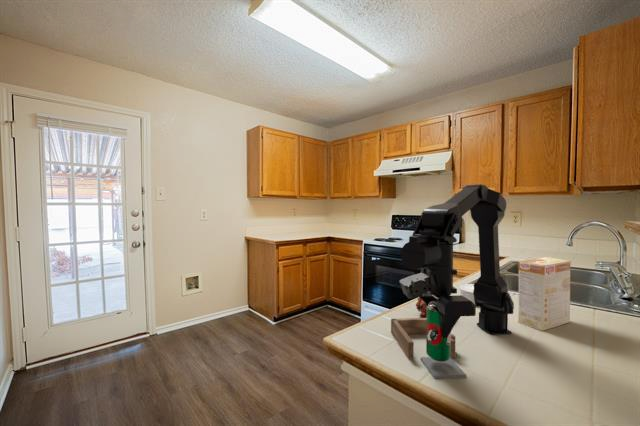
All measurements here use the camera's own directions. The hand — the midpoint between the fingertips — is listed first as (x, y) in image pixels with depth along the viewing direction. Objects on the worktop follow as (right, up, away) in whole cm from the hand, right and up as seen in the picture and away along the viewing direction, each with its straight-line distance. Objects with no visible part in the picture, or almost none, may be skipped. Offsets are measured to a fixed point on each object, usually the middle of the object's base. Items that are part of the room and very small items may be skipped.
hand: (438, 331), depth 62 cm
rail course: (0, -8, +10) cm, 13 cm away
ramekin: (+32, -7, +42) cm, 53 cm away
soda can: (0, -6, 0) cm, 6 cm away
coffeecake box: (+43, -8, +23) cm, 50 cm away
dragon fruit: (+10, -8, +29) cm, 31 cm away
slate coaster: (+1, -8, 0) cm, 8 cm away
